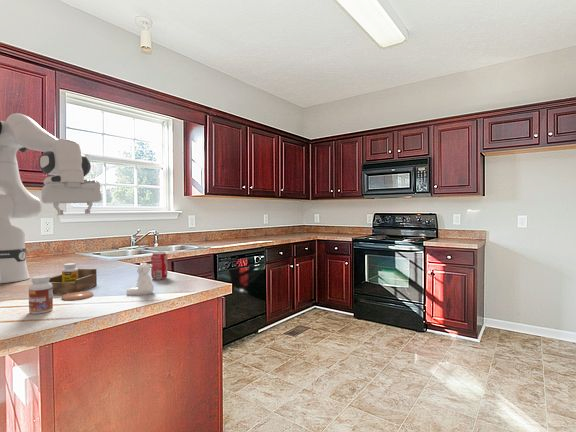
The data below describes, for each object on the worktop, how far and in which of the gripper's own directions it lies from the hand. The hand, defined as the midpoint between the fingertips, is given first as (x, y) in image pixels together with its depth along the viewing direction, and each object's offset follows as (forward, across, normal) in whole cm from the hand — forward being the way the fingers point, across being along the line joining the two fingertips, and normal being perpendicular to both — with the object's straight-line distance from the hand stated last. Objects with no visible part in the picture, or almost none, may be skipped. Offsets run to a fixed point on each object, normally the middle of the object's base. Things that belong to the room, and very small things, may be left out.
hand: (74, 214), depth 137 cm
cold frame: (+29, +2, -9) cm, 31 cm away
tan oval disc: (+31, +4, +7) cm, 32 cm away
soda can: (+32, -33, -2) cm, 46 cm away
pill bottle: (+33, +17, +18) cm, 41 cm away
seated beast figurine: (+34, -15, +19) cm, 42 cm away
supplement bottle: (+30, +2, -9) cm, 31 cm away
